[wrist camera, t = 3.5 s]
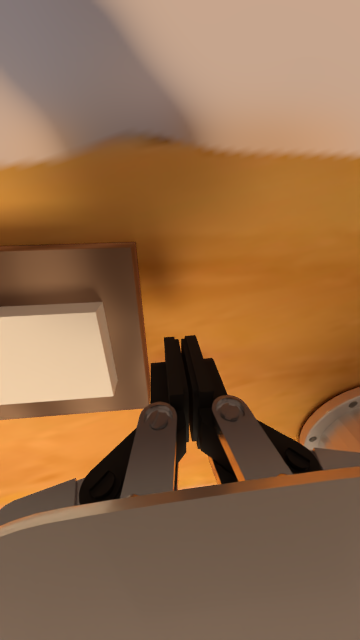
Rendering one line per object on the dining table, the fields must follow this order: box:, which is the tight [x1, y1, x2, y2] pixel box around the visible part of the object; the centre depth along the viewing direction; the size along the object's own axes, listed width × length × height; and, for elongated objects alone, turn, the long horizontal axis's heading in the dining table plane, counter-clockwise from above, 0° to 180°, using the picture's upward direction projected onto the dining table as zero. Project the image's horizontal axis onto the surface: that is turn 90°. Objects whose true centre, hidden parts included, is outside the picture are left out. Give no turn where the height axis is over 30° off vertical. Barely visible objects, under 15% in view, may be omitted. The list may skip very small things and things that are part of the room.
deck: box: [0, 242, 150, 420], centre depth 15 cm, size 14×12×2 cm
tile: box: [0, 302, 118, 405], centre depth 13 cm, size 8×6×2 cm
